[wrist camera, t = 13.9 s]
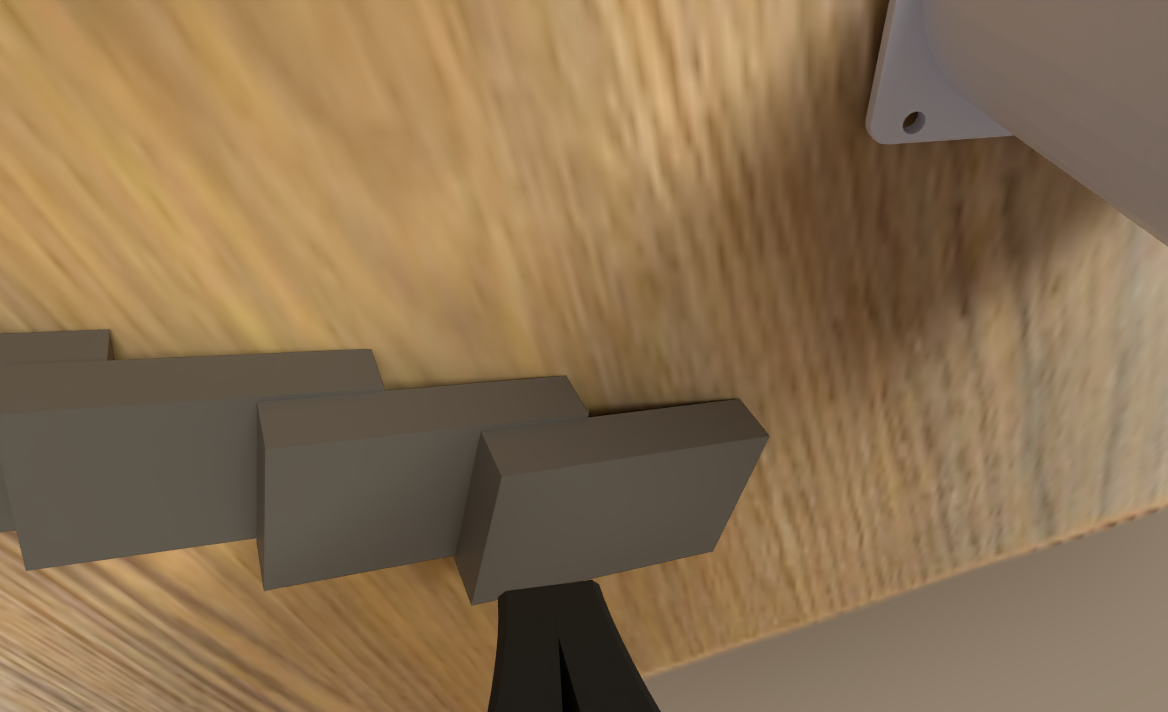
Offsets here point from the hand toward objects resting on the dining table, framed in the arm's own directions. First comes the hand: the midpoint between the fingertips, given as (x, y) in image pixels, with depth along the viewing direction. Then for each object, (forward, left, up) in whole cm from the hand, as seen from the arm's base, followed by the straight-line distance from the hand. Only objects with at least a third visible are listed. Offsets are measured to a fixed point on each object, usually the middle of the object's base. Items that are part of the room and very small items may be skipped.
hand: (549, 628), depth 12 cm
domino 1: (+4, +5, -10) cm, 12 cm away
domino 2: (-1, +6, -10) cm, 12 cm away
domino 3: (-6, +8, -10) cm, 14 cm away
